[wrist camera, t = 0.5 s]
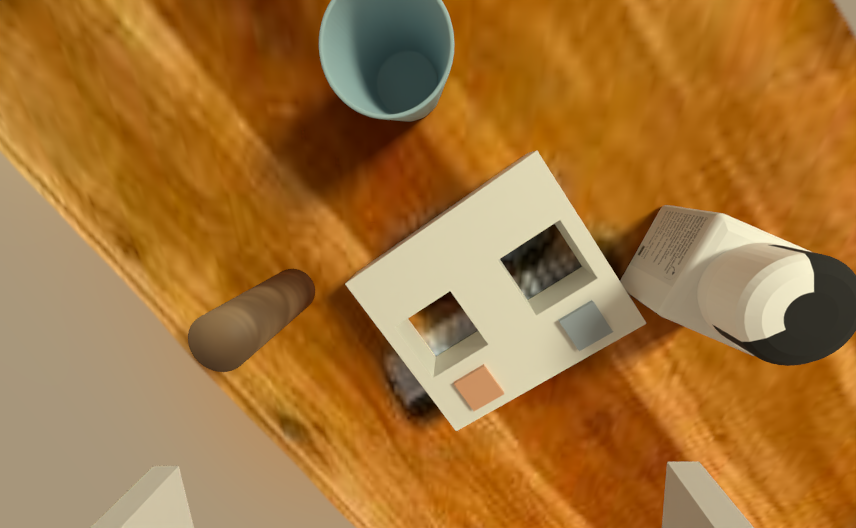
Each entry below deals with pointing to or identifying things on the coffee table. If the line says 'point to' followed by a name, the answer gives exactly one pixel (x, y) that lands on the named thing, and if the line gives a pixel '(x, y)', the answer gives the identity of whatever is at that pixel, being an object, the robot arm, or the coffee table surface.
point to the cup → (387, 55)
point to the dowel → (249, 320)
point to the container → (743, 286)
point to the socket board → (496, 294)
